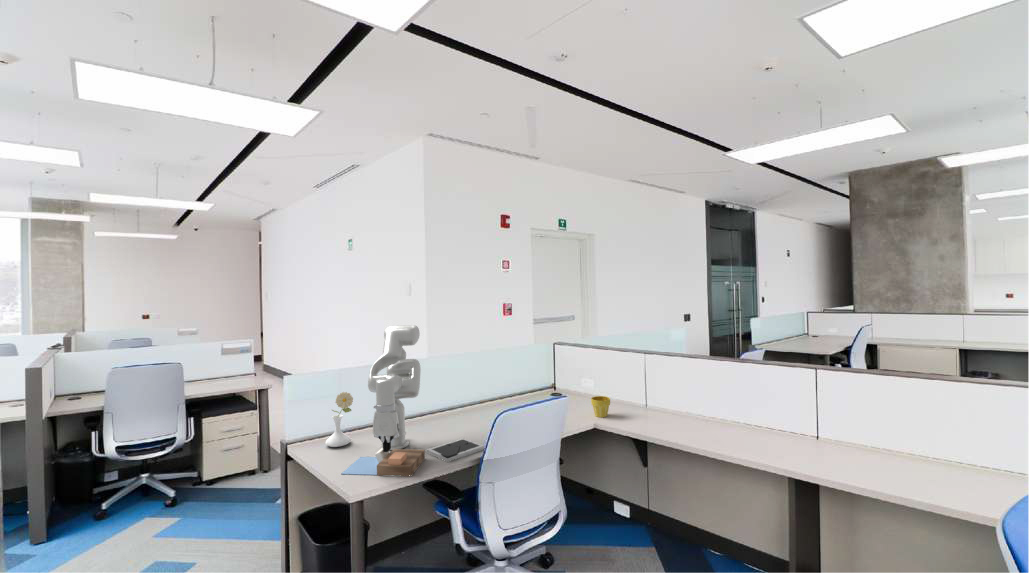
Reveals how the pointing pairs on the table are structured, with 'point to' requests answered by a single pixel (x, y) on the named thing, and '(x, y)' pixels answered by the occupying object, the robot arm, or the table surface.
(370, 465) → the mat
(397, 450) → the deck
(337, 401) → the flower in vase
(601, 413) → the plant pot
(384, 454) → the white rectangular block
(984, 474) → the table surface
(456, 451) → the picture frame
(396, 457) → the orange rectangular block
